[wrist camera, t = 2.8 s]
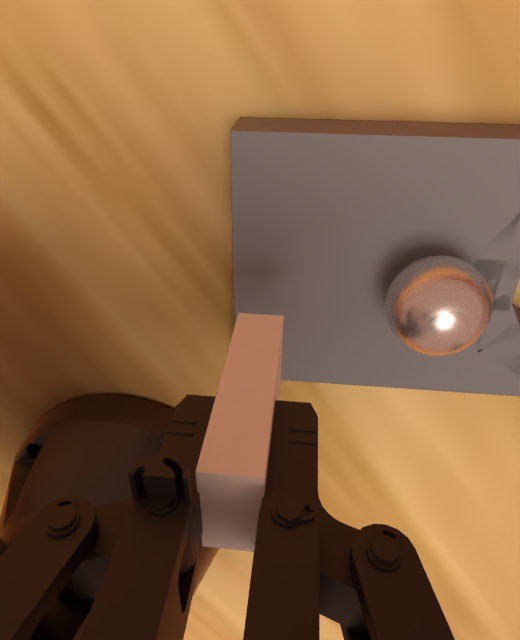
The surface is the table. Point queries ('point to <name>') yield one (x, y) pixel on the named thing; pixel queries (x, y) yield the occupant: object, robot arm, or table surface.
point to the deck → (374, 242)
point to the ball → (439, 305)
